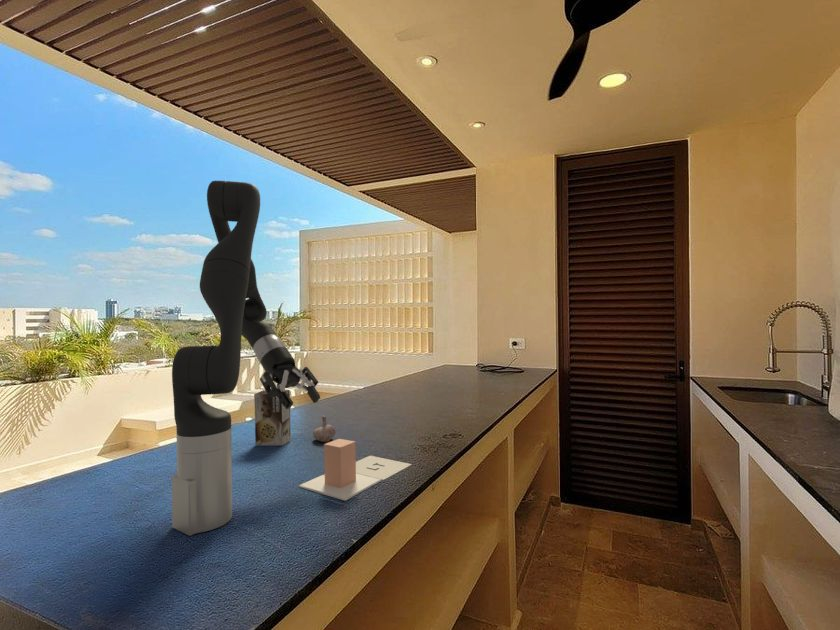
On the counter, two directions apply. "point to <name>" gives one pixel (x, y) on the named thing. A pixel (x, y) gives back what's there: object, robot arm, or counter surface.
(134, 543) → the counter surface
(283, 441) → the coffee box
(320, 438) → the garlic bulb
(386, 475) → the cream tile
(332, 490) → the beige board
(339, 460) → the block
